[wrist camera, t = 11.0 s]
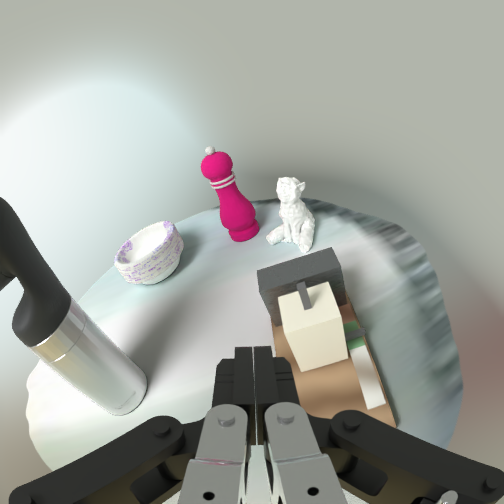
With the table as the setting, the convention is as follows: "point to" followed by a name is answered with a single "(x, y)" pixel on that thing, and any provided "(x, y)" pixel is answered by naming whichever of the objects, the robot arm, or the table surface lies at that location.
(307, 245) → the white creature statuette
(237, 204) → the pepper mill
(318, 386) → the brown wooden board
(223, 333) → the table surface
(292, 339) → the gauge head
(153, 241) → the paper bowls
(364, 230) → the table surface
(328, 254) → the grey rectangular block
